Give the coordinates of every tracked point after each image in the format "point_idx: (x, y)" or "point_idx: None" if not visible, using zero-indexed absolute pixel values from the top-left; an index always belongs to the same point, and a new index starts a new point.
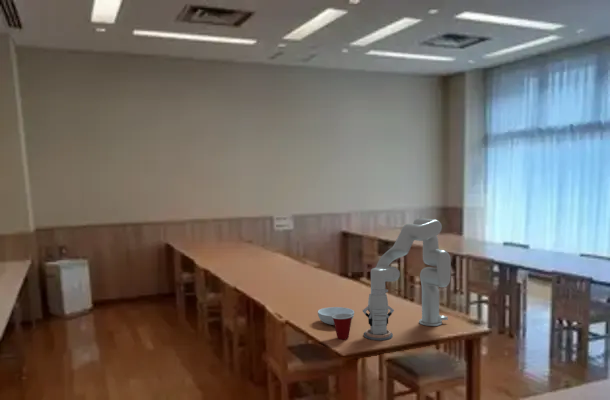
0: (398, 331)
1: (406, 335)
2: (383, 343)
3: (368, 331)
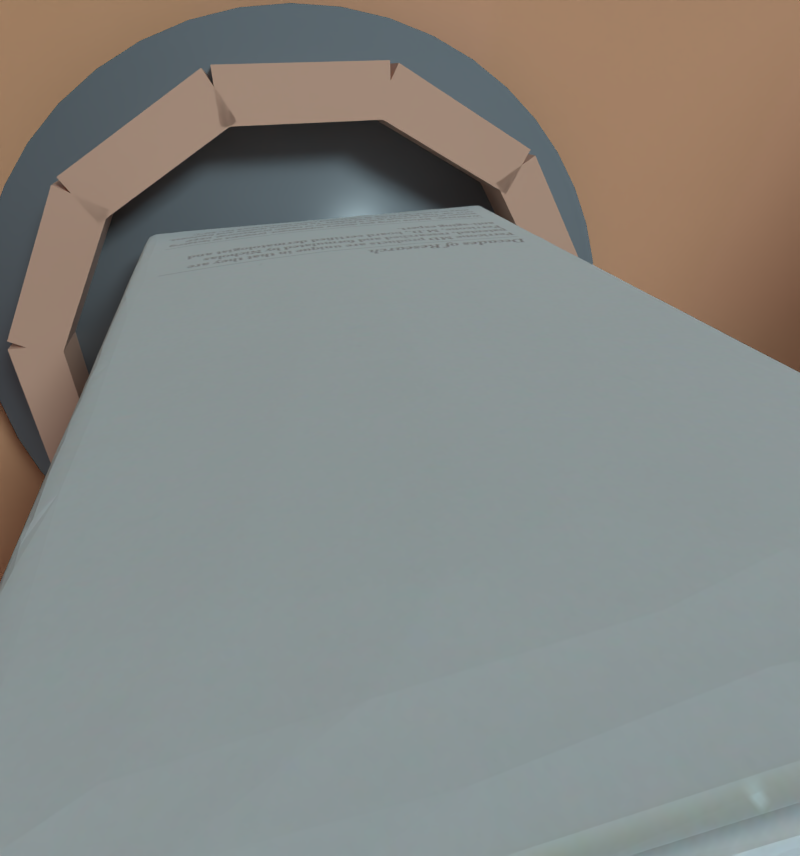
0: (776, 56)
1: (777, 312)
2: None
3: (97, 251)
